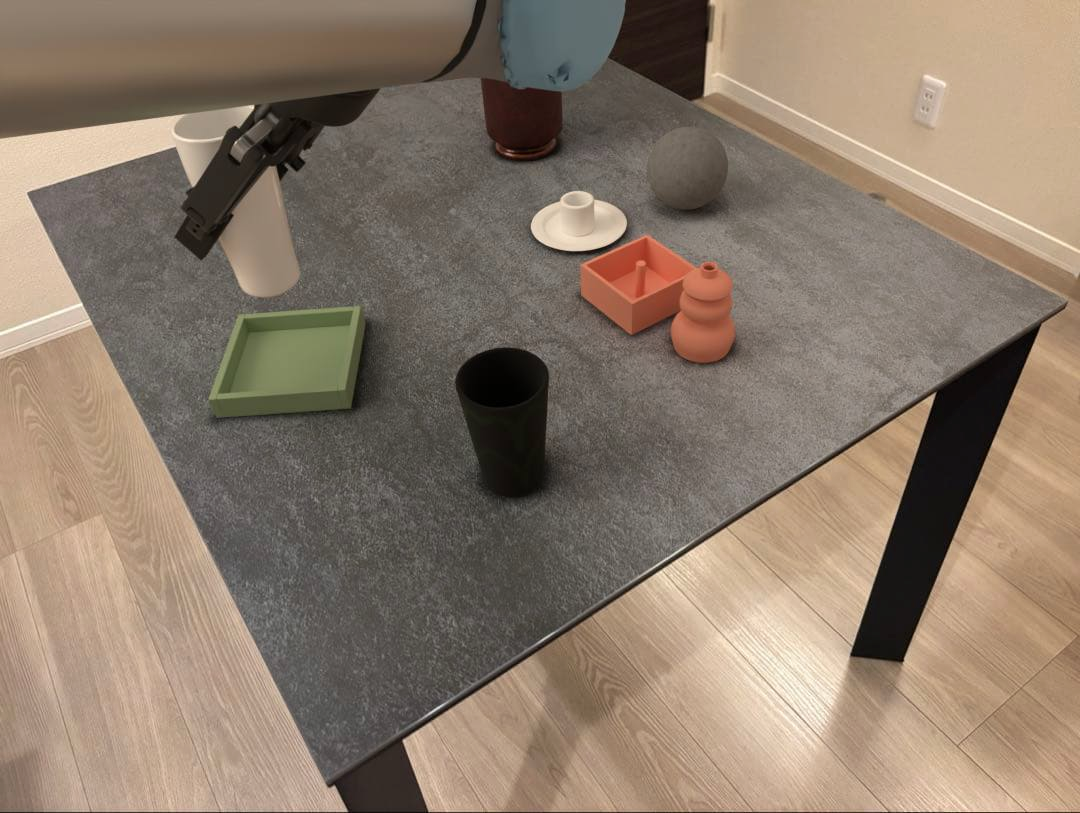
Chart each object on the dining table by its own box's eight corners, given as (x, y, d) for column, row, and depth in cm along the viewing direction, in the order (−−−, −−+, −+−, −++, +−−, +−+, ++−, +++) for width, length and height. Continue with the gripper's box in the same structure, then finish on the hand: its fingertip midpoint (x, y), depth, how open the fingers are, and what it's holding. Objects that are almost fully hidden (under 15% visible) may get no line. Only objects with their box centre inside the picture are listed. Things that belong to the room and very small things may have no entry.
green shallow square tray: (216, 418, 83) (207, 399, 81) (245, 332, 93) (238, 314, 91) (351, 408, 83) (345, 389, 81) (365, 323, 93) (360, 305, 91)
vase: (477, 161, 118) (453, -38, 100) (502, 126, 126) (484, -65, 107) (551, 168, 115) (540, -35, 97) (572, 132, 123) (566, -63, 105)
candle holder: (572, 194, 110) (570, 164, 107) (645, 222, 104) (647, 192, 101) (511, 235, 104) (508, 204, 101) (586, 267, 98) (586, 236, 95)
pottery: (581, 295, 94) (579, 220, 87) (645, 265, 98) (648, 190, 91) (687, 380, 83) (694, 301, 76) (756, 342, 87) (768, 264, 80)
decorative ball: (738, 213, 104) (748, 138, 97) (668, 232, 102) (672, 158, 95) (699, 177, 111) (705, 106, 104) (632, 195, 109) (634, 123, 102)
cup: (568, 456, 77) (564, 359, 68) (534, 517, 72) (524, 420, 63) (495, 434, 79) (482, 338, 71) (456, 491, 74) (437, 395, 66)
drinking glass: (292, 251, 76) (242, 93, 66) (322, 285, 72) (273, 121, 62) (222, 279, 74) (157, 119, 63) (249, 316, 70) (185, 150, 59)
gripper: (296, 159, 49) (179, 322, 65) (445, 34, 61) (316, 197, 78) (192, 60, 47) (98, 254, 63) (369, -49, 59) (253, 137, 76)
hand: (219, 222), depth 70 cm, fingers closed on drinking glass, 7 cm apart
